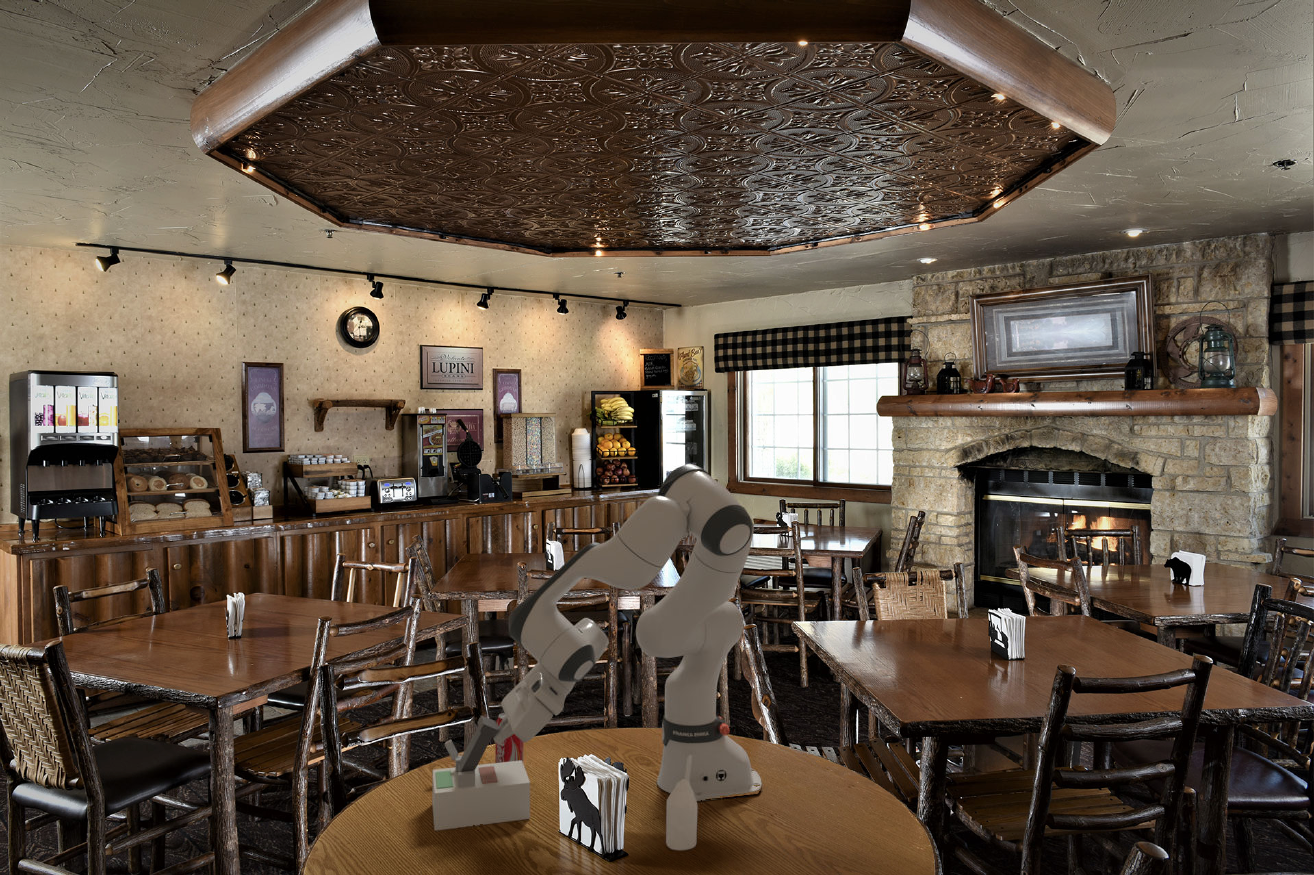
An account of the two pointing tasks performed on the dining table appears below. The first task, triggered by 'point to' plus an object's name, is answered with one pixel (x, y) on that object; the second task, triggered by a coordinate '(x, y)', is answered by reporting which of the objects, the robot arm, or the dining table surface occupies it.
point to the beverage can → (508, 747)
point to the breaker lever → (478, 744)
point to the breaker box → (480, 795)
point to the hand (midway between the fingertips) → (495, 740)
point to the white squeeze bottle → (681, 817)
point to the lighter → (452, 750)
